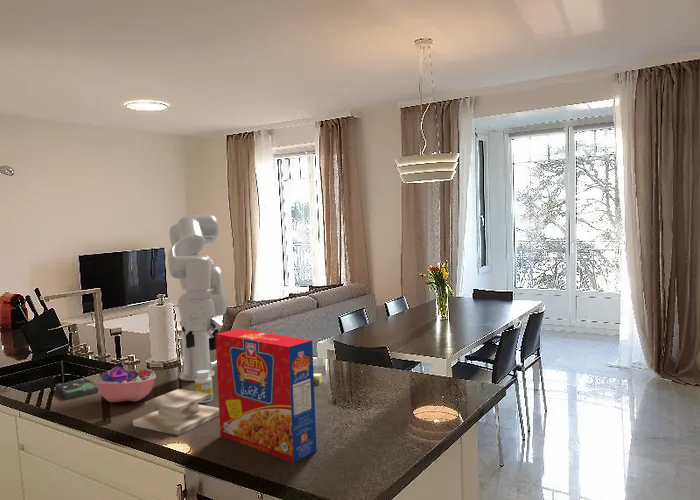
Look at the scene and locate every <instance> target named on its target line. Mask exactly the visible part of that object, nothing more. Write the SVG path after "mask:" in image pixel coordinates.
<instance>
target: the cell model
mask: <svg viewBox="0 0 700 500" xmlns="http://www.w3.org/2000/svg"><path fill="white" fill-rule="evenodd" d="M156 378H157V376H156V373H155V371H153V370H150V369H146V368H144V369H143V368H142V369H141V368H140V369H125V368H124V367H123V366H119V365H118V366H114V367H113V368H112V369H110V370H109V371H108V372H106V373H104V374H102V375H100V376H98V377H96V379H95V380H94V382H95V383H94V384H95V385H96V386H97V388H98V393H99V395H101V396H102V397H103V398H104V399H105V400H106V401H107V402H110V403H121V402H133V403H134V402H138V401H141V400H143V399H144V398H146V397H147V396H148V395H149V394H150V393H151V392H152V390H153V386H154V382H155V381H156Z"/></svg>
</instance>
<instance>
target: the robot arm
mask: <svg viewBox="0 0 700 500" xmlns="http://www.w3.org/2000/svg"><path fill="white" fill-rule="evenodd" d="M219 230H220V227H219V222H218V219H217V217H216V216H214V215H213V214H197V215H195V214H194V215H186V216H183V217H181V218H180V219H179V220H178V222H177V223H175V224H172V225H171V226H170V228H169V240H170V244H171V247H170V249H169V250H168V255H167V263H168V272H169V275H170V276H171V277H172V279H176V280H179V282H180V283H179V284H180V287H181V289H182V290H183V292H185V293H184V294H182V295H180V296H179V297H178V300H177V308H178V313H179V318H180V321H179V325H180V328H181V337H182V357H183V358H182V359H183V372H181V373H180V374H179V379H180V380H182V381H186V382H195V379H196V378H198V377H197V371H200V370H209V373H210V375H209V376H210V377H211V378H213V377H214V376H216V375H215V374H216V373H215V370H213V368H214V367H217V360H214V361H211V357H210V351H213V350H214V351H215V350H216V337H215V334H217V333H222V328H223V326H224V324H223V323H222V322H221V321H219V320H218V319H217V317H219V316H223V315H225V313H226V312H227V306H228V303H227V295H226V289H225V288H226V287H225V281H224V273H223V272H222V270H221V268H220V267H218V266H216V265H214V261H213V259H212V257H210V256H209V255H206V254H199V253H200V252H201V251H202V250H203V249H204V248H205V244H212V243H214V242H215V241H216V239H217V238H218V235H219V232H220V231H219Z"/></svg>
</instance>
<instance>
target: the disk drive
mask: <svg viewBox="0 0 700 500" xmlns="http://www.w3.org/2000/svg"><path fill="white" fill-rule="evenodd" d="M54 385H55V386H54V388H55V389H56V390H55V392H57V391H58V392H59V393H60V395H61V394H62V395H63V396H64V397H65V398H64V397H63V396H62V395H61V396H62V397H63V398H64V399H66V400H72V399H75V398H80V397H85V396H89V395H93V394H98V393H99V389H98V386H97V385H96V383H94V382H92V381H91V380H89V379H88V378H86V377H85V378H80V379H75V380H70V381H67V382H64V383H62V382H61V383H55V384H54ZM58 392H57V393H58ZM59 393H58V394H59ZM71 398H72V399H71Z"/></svg>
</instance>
